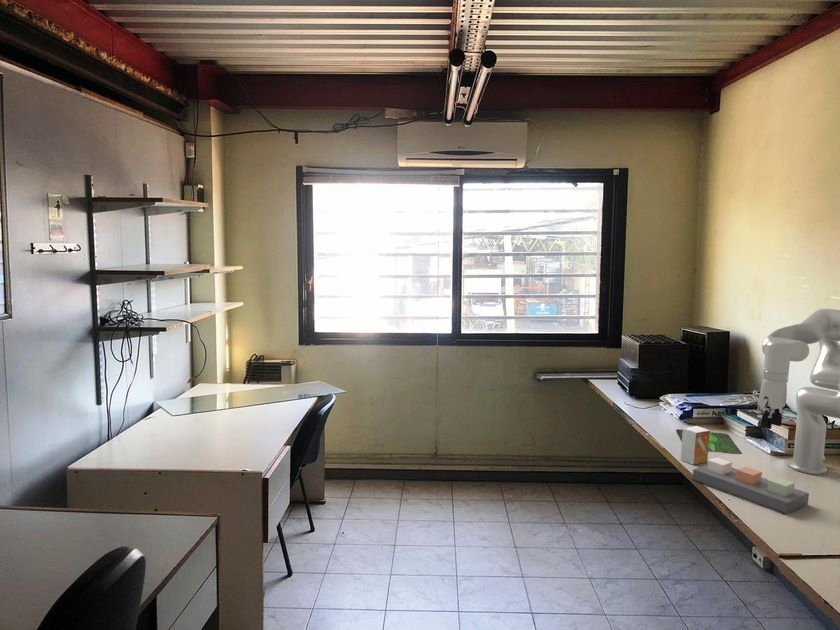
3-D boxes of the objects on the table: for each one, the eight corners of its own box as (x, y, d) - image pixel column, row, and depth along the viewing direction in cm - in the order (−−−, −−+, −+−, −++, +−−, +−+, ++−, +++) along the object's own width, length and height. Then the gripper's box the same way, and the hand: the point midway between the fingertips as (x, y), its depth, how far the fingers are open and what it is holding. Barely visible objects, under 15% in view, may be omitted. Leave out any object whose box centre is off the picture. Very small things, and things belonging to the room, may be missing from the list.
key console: (714, 472, 221) (715, 462, 220) (807, 504, 194) (808, 493, 193) (692, 479, 213) (693, 469, 213) (786, 514, 186) (787, 502, 186)
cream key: (715, 470, 216) (716, 457, 215) (730, 475, 211) (731, 462, 211) (706, 473, 213) (707, 460, 212) (721, 478, 208) (723, 465, 208)
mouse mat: (744, 455, 240) (744, 453, 240) (685, 450, 245) (686, 448, 245) (726, 435, 266) (727, 433, 266) (674, 430, 271) (674, 428, 271)
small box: (693, 465, 227) (696, 432, 226) (679, 459, 233) (682, 428, 231) (708, 462, 231) (710, 430, 229) (694, 457, 237) (696, 425, 235)
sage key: (775, 491, 198) (776, 476, 198) (793, 497, 194) (794, 482, 193) (766, 494, 195) (768, 480, 195) (784, 501, 191) (786, 486, 190)
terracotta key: (744, 480, 207) (745, 466, 206) (760, 486, 202) (761, 472, 202) (735, 483, 204) (736, 469, 203) (751, 489, 199) (753, 475, 199)
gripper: (777, 371, 213) (772, 420, 215) (751, 376, 204) (747, 427, 206) (799, 375, 207) (794, 425, 209) (773, 381, 197) (769, 433, 200)
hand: (771, 426), depth 207 cm, fingers open, 5 cm apart
